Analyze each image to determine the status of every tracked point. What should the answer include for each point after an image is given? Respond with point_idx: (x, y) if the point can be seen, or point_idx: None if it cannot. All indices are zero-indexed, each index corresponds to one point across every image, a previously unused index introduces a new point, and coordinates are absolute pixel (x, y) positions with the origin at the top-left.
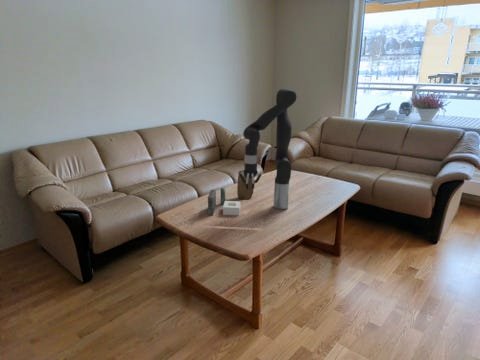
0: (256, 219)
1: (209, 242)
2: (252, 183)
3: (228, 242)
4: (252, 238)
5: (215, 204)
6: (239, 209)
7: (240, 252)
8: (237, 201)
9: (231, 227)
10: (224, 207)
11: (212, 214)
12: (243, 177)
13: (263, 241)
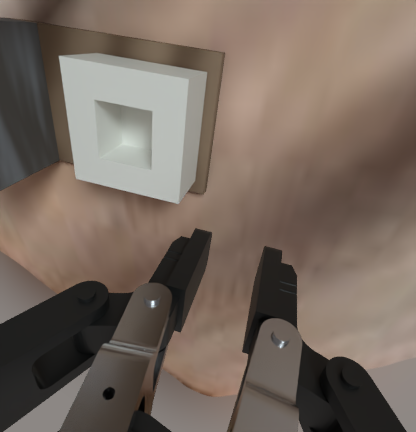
0: (295, 214)
1: None
2: (250, 350)
3: None
4: (238, 344)
5: (17, 46)
6: (185, 186)
7: (193, 383)
8: (162, 75)
9: None
10: (85, 180)
11: (52, 162)
12: (24, 386)
13: None
